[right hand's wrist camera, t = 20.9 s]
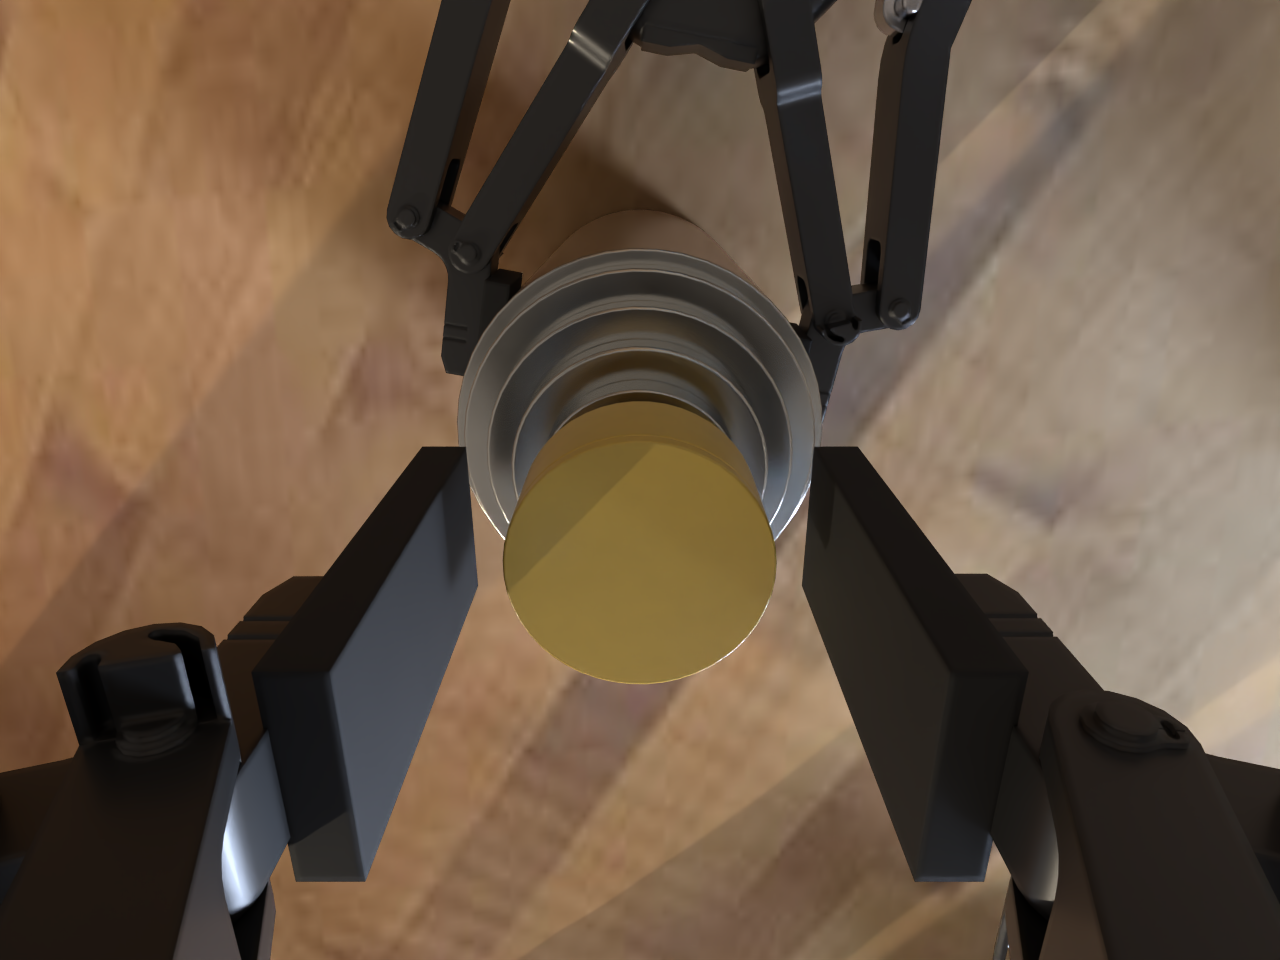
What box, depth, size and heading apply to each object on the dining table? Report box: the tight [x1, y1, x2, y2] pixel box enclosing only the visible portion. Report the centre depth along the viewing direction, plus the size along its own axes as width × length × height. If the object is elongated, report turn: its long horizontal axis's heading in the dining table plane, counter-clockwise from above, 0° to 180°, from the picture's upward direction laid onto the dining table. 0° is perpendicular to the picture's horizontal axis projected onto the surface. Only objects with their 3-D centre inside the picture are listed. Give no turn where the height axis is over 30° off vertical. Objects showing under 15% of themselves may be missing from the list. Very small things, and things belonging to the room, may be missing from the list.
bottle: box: [457, 209, 822, 541], centre depth 22 cm, size 8×8×20 cm
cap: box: [503, 401, 777, 684], centre depth 13 cm, size 4×4×2 cm
